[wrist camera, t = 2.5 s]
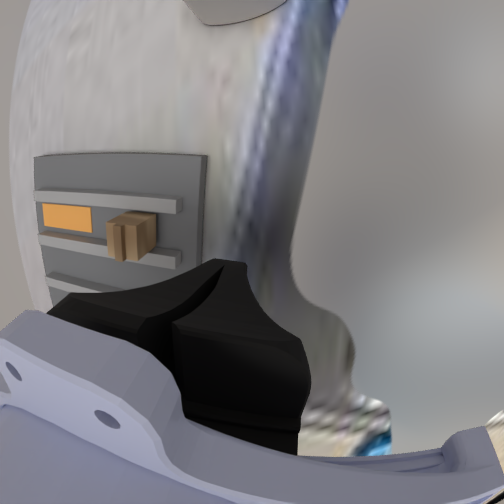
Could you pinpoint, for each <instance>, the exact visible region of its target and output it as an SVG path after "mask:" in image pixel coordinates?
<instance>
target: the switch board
mask: <svg viewBox="0 0 504 504" xmlns="http://www.w3.org/2000/svg"><path fill="white" fill-rule="evenodd" d="M206 165H207V156H206V155H190V154H169V153H79V154H60V155H45V156H39V157H34V183H35V190H34V201H36V212H37V221H38V230H39V234H38V240H39V244H41V251H42V257H43V262H44V268H45V273H46V276H45V279H46V284H47V285H48V287H49V291H50V296H51V300H52V304H53V307H54V306H55V305H56V304H57V303H59V302H60V301H61V300H62V299H63V298H64V297H66V296H67V295H68V294H69V293H70V292H76V293H102V292H115V291H123V290H129V289H134V288H139V287H144V286H149V285H152V284H156V283H159V282H162V281H165V280H168V279H171V278H173V277H175V276H178V275H180V274H182V273H185V272H187V271H189V270H191V269H193V268H195V267H197V266H199V265H201V255H202V231H203V211H204V194H205V179H206ZM127 211H132V212H142V213H151V214H156V246H155V247H154V248H153V249H152V250H150V251H149V252H148V253H147V254H146V255H145V256H143V257H142V258H141V259H140V260H139V261H133V260H128V259H126V260H125V261H123V262H120V261H115V257H111V256H108V248H107V235H106V222H107V221H109V220H111V219H113V218H115V217H117V216H119V215H121V214H123V213H125V212H127Z"/></svg>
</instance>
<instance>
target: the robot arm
mask: <svg viewBox="0 0 504 504" xmlns="http://www.w3.org/2000/svg"><path fill="white" fill-rule="evenodd" d="M310 389H311V374H310V369H309V364H308V360H307V357H306V353H305V350H304V347H303V344H302V342H301V340H300V339H299V338H298V337H296V336H294V335H293V334H291V333H289V332H288V331H286V330H284V329H283V328H281V327H280V326H279V325H278V324H276V323H275V322H274V321H273V320H272V319H271V318H270V317H269V316H268V315H267V314H266V313H265V312H264V311H263V309H262V308H261V307H260V305H259V303H258V302H257V300H256V298H255V296H254V294H253V292H252V290H251V287H250V285H249V281H248V278H247V265H246V263H244V262H237V261H230V260H223V259H216V258H215V259H212V260H209V261H207V262H205V263H203V264H201V265H199V266H197V267H195V268H193V269H191V270H189V271H187V272H185V273H182V274H180V275H178V276H175V277H173V278H171V279H168V280H165V281H162V282H159V283H156V284H152V285H149V286H144V287H139V288H134V289H129V290H123V291H115V292H102V293H76V292H70V293H69V294H68V295H67V296H66V297H64V298H63V299H62V300H61V301H60V302H59V303H57V304H56V305H55V306H54V307H53V308H52V309H51V310H49V311H48V312H47V313H43V312H41V311H38V310H25V311H24V312H23V313H21V314H20V315H19V316H18V317H17V318H15V319H14V320H13V321H12V322H11V323H9V324H8V325H7V326H6V327H5V328H4V329H2V330H1V331H0V504H482V503H484V502H485V501H487V500H488V499H489V498H491V497H492V496H494V495H495V494H496V493H498V492H499V491H500V490H502V489H503V488H504V474H503V471H502V468H501V465H500V463H499V460H498V457H497V455H496V452H495V449H494V447H493V444H492V442H491V439H490V437H489V435H488V432H487V430H486V428H485V426H481V427H476V428H472V429H467V430H462V431H460V432H457V433H455V434H454V435H452V436H451V437H450V438H449V439H448V440H447V441H446V442H445V443H444V445H443V446H442V447H441V448H437V449H431V450H425V451H418V452H411V453H402V454H392V455H380V456H361V457H316V456H297V450H298V433H299V431H300V427H301V415H302V412H303V410H304V407H305V405H306V402H307V399H308V397H309V394H310Z"/></svg>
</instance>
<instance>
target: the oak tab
mask: <svg viewBox="0 0 504 504" xmlns="http://www.w3.org/2000/svg"><path fill="white" fill-rule="evenodd" d="M106 235H107V248H108V256H111V257H115V261H120V262H123V261H125V260H126V259H128V260H133V261H139V260H140V259H141V258H142V257H143V256H145V255H146V254H147V253H148V252H149V251H150V250H152V249H153V248H154V247H155V246H156V214H151V213H142V212H132V211H127V212H125V213H123V214H121V215H119V216H117V217H115V218H113V219H111V220H109V221H107V222H106Z"/></svg>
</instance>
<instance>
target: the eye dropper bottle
mask: <svg viewBox="0 0 504 504" xmlns="http://www.w3.org/2000/svg"><path fill="white" fill-rule="evenodd" d="M183 1H184V2H185V3H186V4H187V6H188V7H189V8H190V9H191V10H192V11H193V13H194V14H195V15H196V16H197V17H198V18H199V20H200V21H201V22H202V23H204V24H207V25H223V24H231V23H236V22H241V21H245V20H249V19H252V18H255V17H258V16H260V15H263V14H265V13H267V12H269V11H271V10H273V9H275V8H276V7H278V6H280V5H281V4H283V3H284V2H285V1H286V0H183Z"/></svg>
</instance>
